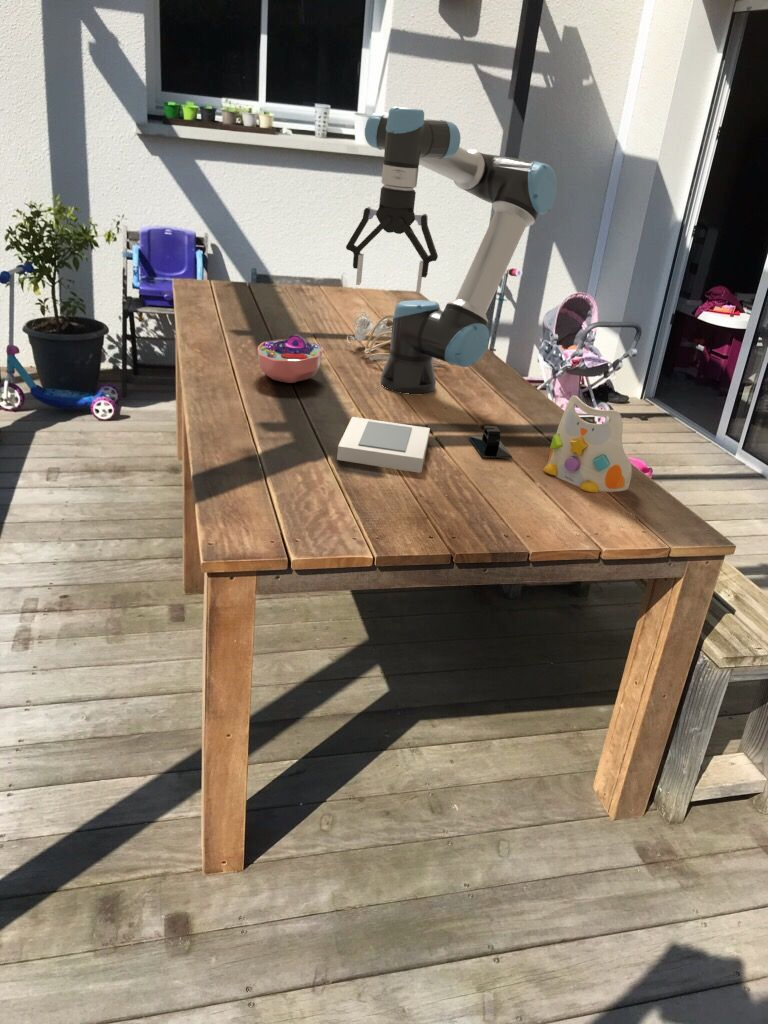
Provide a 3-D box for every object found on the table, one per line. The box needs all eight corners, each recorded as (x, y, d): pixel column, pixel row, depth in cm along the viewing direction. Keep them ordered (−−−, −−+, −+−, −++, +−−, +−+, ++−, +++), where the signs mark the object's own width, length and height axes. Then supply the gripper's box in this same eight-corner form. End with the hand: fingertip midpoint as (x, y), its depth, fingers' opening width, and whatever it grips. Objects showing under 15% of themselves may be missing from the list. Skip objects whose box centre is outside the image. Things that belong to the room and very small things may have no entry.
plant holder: (371, 387, 236) (379, 334, 227) (334, 334, 262) (339, 285, 253) (459, 382, 246) (470, 332, 237) (415, 332, 272) (423, 285, 262)
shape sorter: (527, 468, 185) (542, 392, 177) (554, 457, 192) (569, 384, 184) (603, 501, 174) (623, 422, 165) (629, 489, 181) (649, 412, 172)
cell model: (240, 380, 216) (241, 338, 211) (283, 363, 233) (285, 323, 227) (294, 396, 210) (297, 353, 205) (335, 378, 226) (338, 337, 221)
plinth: (350, 433, 192) (352, 415, 190) (427, 444, 191) (430, 426, 189) (336, 463, 176) (338, 444, 174) (420, 476, 175) (423, 457, 173)
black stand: (468, 437, 197) (470, 419, 195) (497, 438, 198) (500, 420, 196) (482, 457, 186) (485, 437, 184) (513, 457, 187) (516, 438, 185)
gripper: (338, 181, 175) (330, 283, 185) (455, 196, 173) (442, 298, 183) (344, 178, 182) (336, 277, 191) (457, 192, 180) (444, 291, 190)
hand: (388, 287), depth 187 cm, fingers open, 13 cm apart
